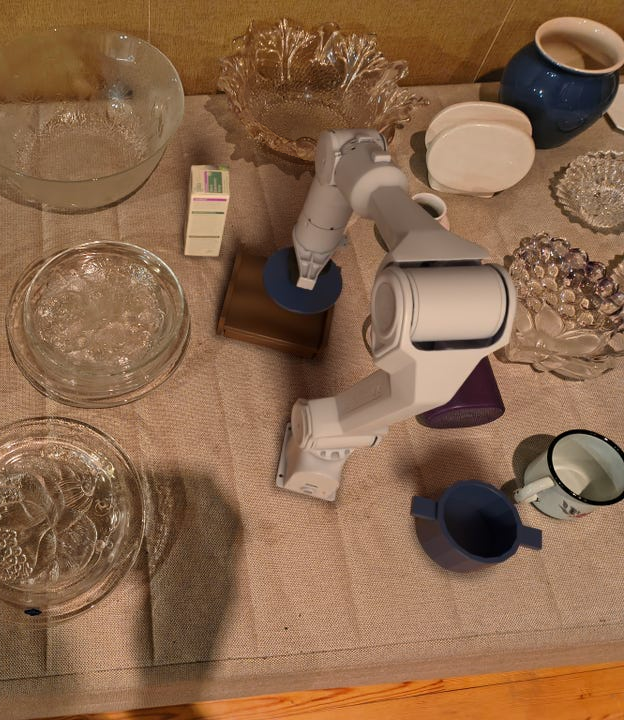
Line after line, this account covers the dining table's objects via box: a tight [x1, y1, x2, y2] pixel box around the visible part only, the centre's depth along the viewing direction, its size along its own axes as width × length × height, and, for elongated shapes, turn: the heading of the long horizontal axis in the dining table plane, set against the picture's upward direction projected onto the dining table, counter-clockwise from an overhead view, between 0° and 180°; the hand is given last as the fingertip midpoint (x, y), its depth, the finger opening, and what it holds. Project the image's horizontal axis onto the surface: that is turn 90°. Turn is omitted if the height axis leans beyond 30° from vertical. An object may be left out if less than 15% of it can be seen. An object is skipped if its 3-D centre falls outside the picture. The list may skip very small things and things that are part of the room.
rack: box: [215, 241, 342, 362], centre depth 99 cm, size 14×16×5 cm
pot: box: [409, 478, 543, 574], centre depth 84 cm, size 10×16×7 cm, turn 74°
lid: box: [262, 245, 344, 314], centre depth 91 cm, size 11×11×5 cm
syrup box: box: [183, 164, 231, 257], centre depth 101 cm, size 6×6×14 cm
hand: (299, 275), depth 92 cm, fingers closed on lid, 2 cm apart
